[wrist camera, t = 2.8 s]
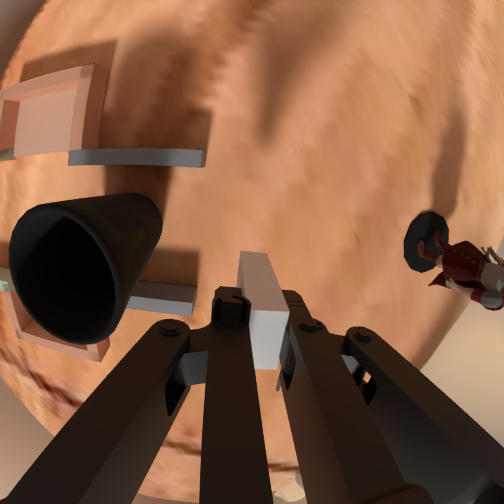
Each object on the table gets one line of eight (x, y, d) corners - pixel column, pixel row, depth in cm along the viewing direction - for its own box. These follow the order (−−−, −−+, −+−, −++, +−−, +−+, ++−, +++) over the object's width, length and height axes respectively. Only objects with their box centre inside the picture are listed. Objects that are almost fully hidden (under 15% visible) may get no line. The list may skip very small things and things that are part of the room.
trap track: (217, 68, 18) (214, 51, 15) (195, 358, 27) (191, 384, 23) (-31, 112, 15) (-50, 112, 11) (-16, 308, 24) (-31, 321, 20)
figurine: (441, 201, 23) (556, 244, 9) (451, 258, 25) (544, 318, 11) (396, 228, 24) (515, 295, 10) (410, 286, 26) (500, 368, 12)
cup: (85, 242, 22) (4, 301, 11) (113, 166, 20) (20, 179, 9) (154, 280, 24) (105, 367, 13) (189, 205, 22) (145, 252, 11)
